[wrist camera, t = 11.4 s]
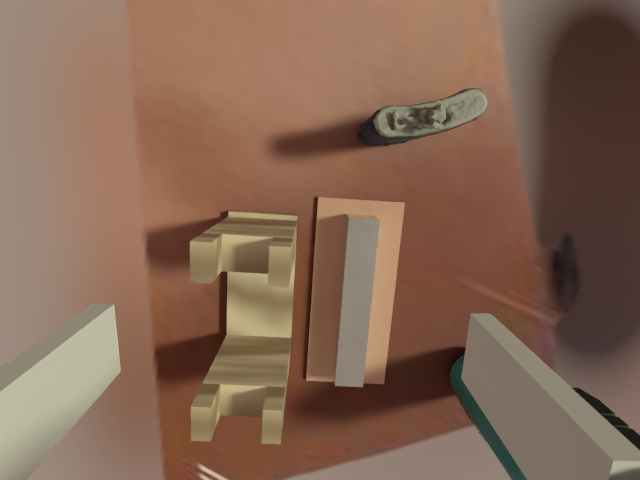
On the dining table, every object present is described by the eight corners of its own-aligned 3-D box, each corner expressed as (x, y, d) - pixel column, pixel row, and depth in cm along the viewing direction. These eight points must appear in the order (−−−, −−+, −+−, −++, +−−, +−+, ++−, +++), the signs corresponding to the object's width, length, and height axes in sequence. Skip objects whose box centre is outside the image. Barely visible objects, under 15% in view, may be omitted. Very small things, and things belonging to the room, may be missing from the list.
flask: (445, 102, 36) (500, 78, 26) (449, 132, 37) (504, 120, 26) (354, 122, 36) (371, 106, 26) (360, 152, 37) (379, 148, 27)
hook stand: (230, 210, 38) (189, 234, 25) (297, 214, 38) (291, 240, 25) (228, 359, 41) (191, 445, 29) (289, 361, 42) (280, 449, 29)
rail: (346, 213, 38) (348, 217, 35) (374, 215, 38) (379, 219, 35) (333, 370, 41) (334, 385, 39) (359, 371, 42) (363, 387, 39)
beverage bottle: (437, 388, 43) (543, 578, 23) (450, 336, 41) (575, 491, 22) (490, 395, 43) (639, 588, 24) (505, 344, 42) (676, 504, 22)
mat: (318, 196, 38) (318, 197, 37) (403, 202, 38) (404, 202, 38) (306, 378, 42) (306, 380, 42) (383, 382, 42) (384, 384, 42)
